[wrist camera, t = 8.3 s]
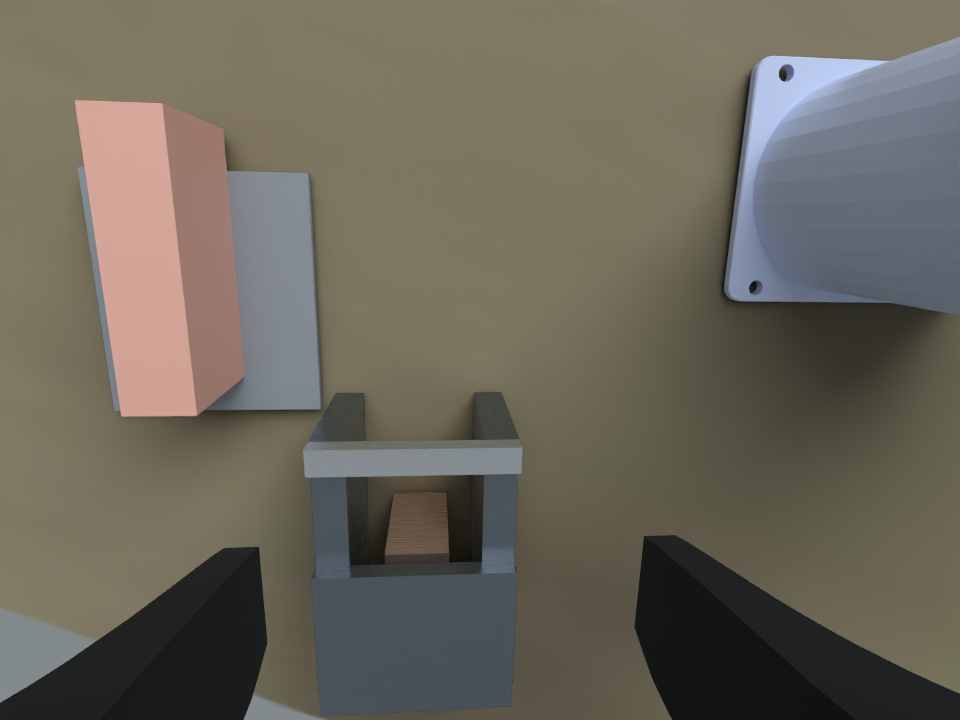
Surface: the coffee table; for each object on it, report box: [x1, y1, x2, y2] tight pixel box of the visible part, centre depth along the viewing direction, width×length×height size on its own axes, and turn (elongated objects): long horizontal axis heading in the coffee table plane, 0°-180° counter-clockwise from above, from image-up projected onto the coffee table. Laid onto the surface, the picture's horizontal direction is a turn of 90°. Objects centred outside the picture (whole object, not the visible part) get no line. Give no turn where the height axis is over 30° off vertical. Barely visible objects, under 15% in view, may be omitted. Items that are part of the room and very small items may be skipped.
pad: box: [78, 167, 322, 411], centre depth 19 cm, size 7×8×1 cm
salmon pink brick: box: [75, 100, 245, 416], centre depth 16 cm, size 2×8×4 cm, turn 179°
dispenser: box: [303, 392, 522, 716], centre depth 19 cm, size 6×9×5 cm, turn 179°
